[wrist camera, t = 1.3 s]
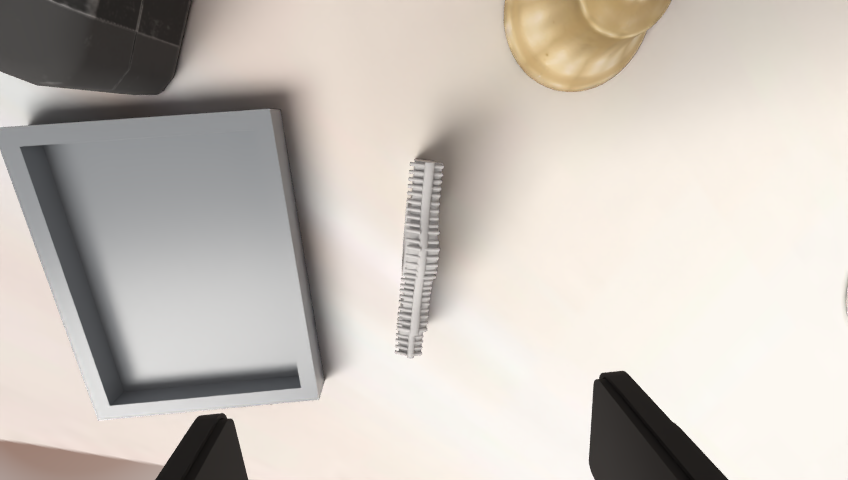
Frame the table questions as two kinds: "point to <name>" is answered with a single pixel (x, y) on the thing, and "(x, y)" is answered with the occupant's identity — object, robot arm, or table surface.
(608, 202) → the table surface
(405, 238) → the white toothed rack
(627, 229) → the table surface
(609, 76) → the hand bell
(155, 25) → the cash box
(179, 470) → the robot arm
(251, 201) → the tray
